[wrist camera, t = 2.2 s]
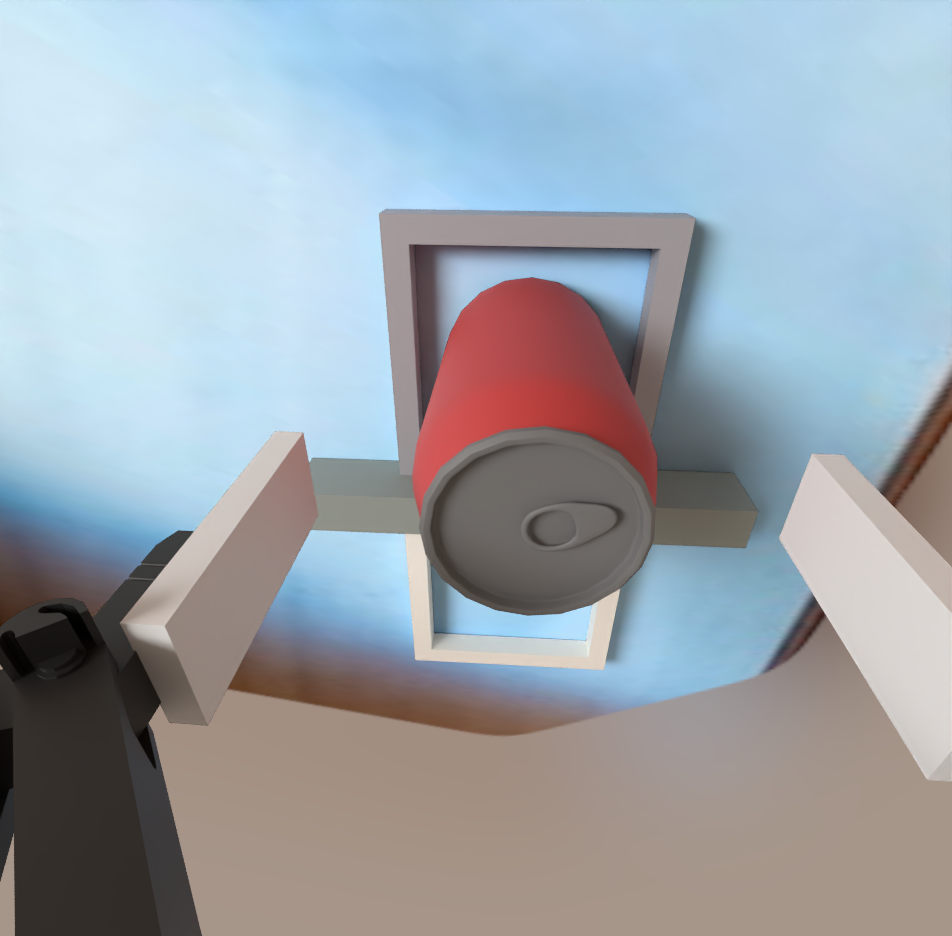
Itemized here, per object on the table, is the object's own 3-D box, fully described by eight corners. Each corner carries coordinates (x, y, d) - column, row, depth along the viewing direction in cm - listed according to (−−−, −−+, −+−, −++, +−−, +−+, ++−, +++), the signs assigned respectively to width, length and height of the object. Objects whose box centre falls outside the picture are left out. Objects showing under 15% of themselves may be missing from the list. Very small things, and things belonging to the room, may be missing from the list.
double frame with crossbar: (345, 639, 33) (331, 682, 31) (266, 207, 20) (232, 219, 18) (677, 656, 32) (691, 702, 30) (813, 215, 20) (858, 228, 17)
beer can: (617, 404, 24) (693, 609, 14) (474, 438, 25) (447, 648, 15) (589, 251, 21) (662, 374, 11) (426, 300, 22) (351, 450, 12)
